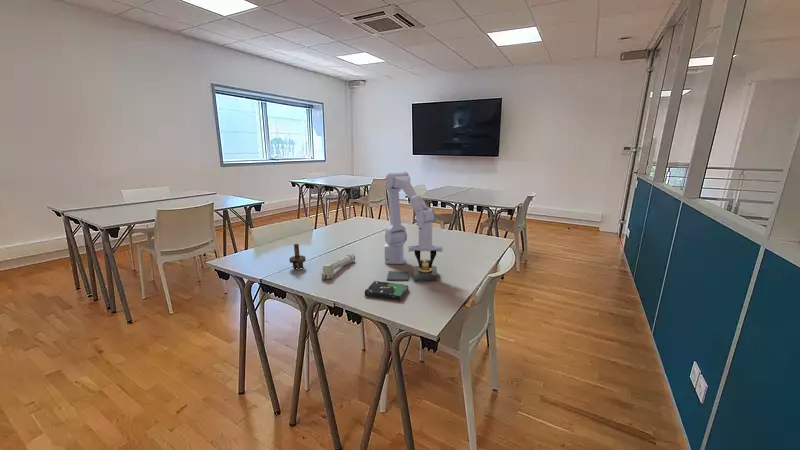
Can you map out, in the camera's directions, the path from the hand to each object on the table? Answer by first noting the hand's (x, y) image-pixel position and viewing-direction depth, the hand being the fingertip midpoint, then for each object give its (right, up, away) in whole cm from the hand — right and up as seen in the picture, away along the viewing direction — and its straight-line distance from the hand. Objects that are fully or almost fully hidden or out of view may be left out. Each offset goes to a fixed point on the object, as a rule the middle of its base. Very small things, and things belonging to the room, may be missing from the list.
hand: (425, 267), depth 141 cm
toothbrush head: (-40, -3, +11) cm, 41 cm away
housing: (0, -4, +1) cm, 4 cm away
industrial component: (-59, -2, +14) cm, 61 cm away
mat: (-12, -4, +2) cm, 13 cm away
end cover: (0, -4, +1) cm, 4 cm away
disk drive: (-16, -9, -14) cm, 23 cm away
